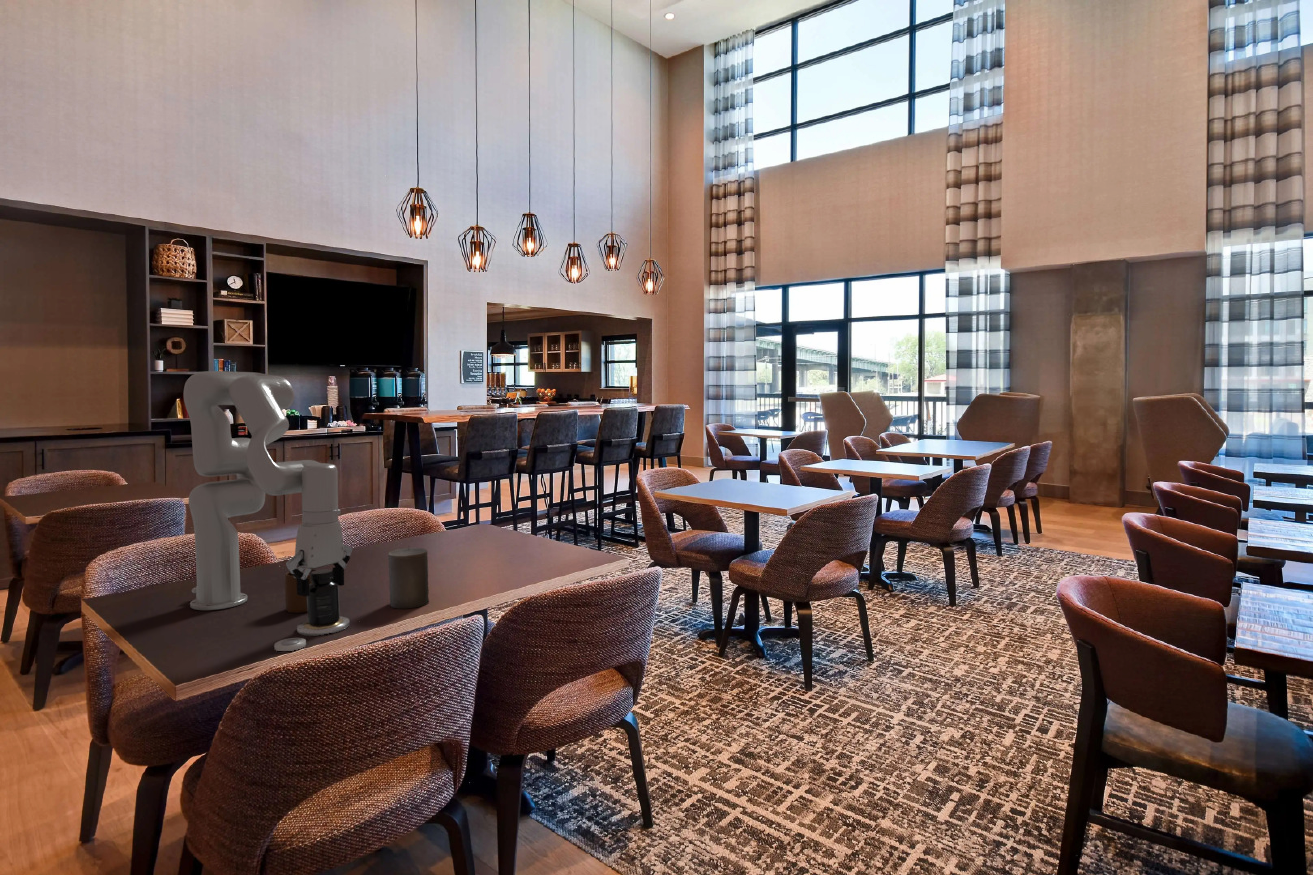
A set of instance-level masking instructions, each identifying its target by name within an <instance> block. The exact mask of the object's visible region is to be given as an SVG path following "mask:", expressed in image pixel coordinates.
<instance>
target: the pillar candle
mask: <svg viewBox="0 0 1313 875" xmlns="http://www.w3.org/2000/svg"><path fill="white" fill-rule="evenodd" d="M387 554H388V578H389V580H388V581H389V582H388V584H389V605H390V607H391V608H393V609H411V608H419V607H422V606H426V605H427V604H429V602H430V598H429V590H430V589H429V566H428V565H429V564H428V563H429V562H428V550H427V549H426V548H424V547H410V546H408V547H406V548H399V549H394V550H391V551H389V552H388V553H387Z"/></svg>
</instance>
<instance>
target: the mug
mask: <svg viewBox="0 0 1313 875" xmlns="http://www.w3.org/2000/svg"><path fill="white" fill-rule="evenodd" d="M304 570H305V569H304ZM304 570H303V572H304ZM313 571H317V569H311V571H310V573H309V574H308V576H307V579H309V584H311V583H312V581H311V580H310V578H311V572H313ZM303 572H302V573H303ZM284 598H285V599H284V601H285V602H284V603H285V609H286V611H287V612H288V613H292V614H301V613H307V596H306V597H305V596H300V595H297V578H294V576H293V575H292V574H291V573H290V572H289V571H288V572H286V573H285V575H284Z"/></svg>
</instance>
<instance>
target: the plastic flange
mask: <svg viewBox="0 0 1313 875" xmlns="http://www.w3.org/2000/svg"><path fill="white" fill-rule="evenodd" d="M306 646H307V640H306V638H303V637H291V638H290V637H289V638H284V639H281V640H279V641H277V642H275V643H274V651H275V650H276V651H275V652H277V651H292V652H295V651H294V650H296V651H299V650H298V649H300V650H302V649H304V648H305V647H306ZM303 647H304V648H303ZM301 648H302V649H301Z"/></svg>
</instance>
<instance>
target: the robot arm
mask: <svg viewBox="0 0 1313 875" xmlns="http://www.w3.org/2000/svg"><path fill="white" fill-rule="evenodd" d="M294 401H295V390H294V388H293V386H292V384H291V383H290V381H288V380H287V379H286V378H284V377H283V376H280V375H272V374H266V373H262V372H254V371H253V372H250V371H228V370H227V371H224V370H223V371H222V370H221V371H220V370H211V371H210V370H209V371H200V372H197V373H193V374H192V375H191V376H190V377H189V378H188V379H186V381H185V384H184V388H183V402H184V406H185V409H186V411H187V413H188V418H189V421H190V428H191V441H192V442H191V444H192V460H193V466H194V469H195V472H196V473H197V474H198V475H199V476H201V477H209V478H210V477H222V476H223V477H225V476H231V475H236V479H230V480H227V479H226V480H218V481H210V482H205V483H202V484H199V485H197V486H195V487H194V488H193V489H192V490H191V491H190V493H189V496H188V506H189V511H190V515H191V519H192V523H193V531H194V546H195V565H196V566H195V569H196V570H195V571H196V575H195V576H196V586H195V587H193V588H192V589H191V592H192V593H193V594H195V595H196V596H195V597H196V598H195V599H193V600H192V601H190V603H189V605H190V608H191V609H193V610H197V611H217V610H223V609H229V608H232V607H233V608H234V607H236V606H239V605H243V604H244V603H246V602H247V601H248V595H247V594H246V593H243V592H241V573H240V570H241V569H240V546H239V534H238V530H237V528H236V527H235V526H234V524H232V522H231V521H230V520H229V519H230V518H233V517H237V516H239V517H240V516H244V515H251V514H255V513H257V512H259V511H261V509H262V508H263V507H264V505H265V503H266V495H268V496H275V497H276V496H283V495H290V494H291V495H292V494H299V493H301V524H299V525H298V529H297V532H296V538H295V540H296V541H295V548H294V549H295V550H294V555H293V556H292V557H291V558H289V559H288V561H286V563H285V565H286V567H287V569H288V572H290V573H291V574H292V575H293V576H294V578H297V595H300V596H305V597H306V596H309V579H307V576H308V574H309V573H310V571H311V569H314V570H317V569H320V568H322V567H327V566H330V565H333V566H334V567H332V569H331V570H333V576H334V578H333V581H335V582H337V583H338V586H340V587H343V586H344V585H345V569H346V568H347V564H348V562H349V561H350V559H351V554H352V551H353V547H352V546H350V545H348V544H344V536H343V529H342V525H341V521H340V520H339V515H340V514H342V513H341V509H339V477H338V476H339V475H338V474H339V472H338V467H337V466H336V464H333V463H328V462H327V463H325V462H323V463H322V462H319V461H316V460H314V459H301V460H288V461H278V462H275V461H273V458H272V457H271V455H270V453H269V451H268V449H267V446H268V445H269V444H272V443H273V442H274V441H277V440H279V439H281V437H283V436H284V435H285V434H286V433H287V431H288V430H289V428H290V424H289V423H290V422H289V419H288V418H287V416H286V414H285V413H284V412H283V410H285V409H288V408H290V407H291V406H292V404H294ZM220 406H234V407H235V409H236V411H237V412H238V413H239V415H240V417H241V419H242V421H243V422H244V424H245V426H246V428H247V431H249V433H250V435H251V438H249V437H235V438H232V432H231V422H230V420H229V417H228V416H227V414H226V413H225V411H224V410H223V409H222V408H221V407H220ZM304 569H305V570H304ZM303 570H304V572H303ZM302 572H303V573H302Z"/></svg>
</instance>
